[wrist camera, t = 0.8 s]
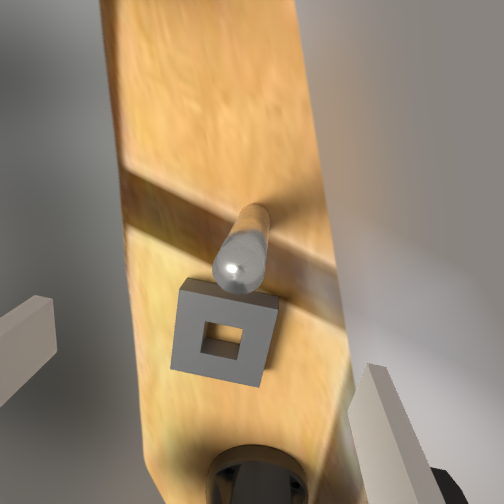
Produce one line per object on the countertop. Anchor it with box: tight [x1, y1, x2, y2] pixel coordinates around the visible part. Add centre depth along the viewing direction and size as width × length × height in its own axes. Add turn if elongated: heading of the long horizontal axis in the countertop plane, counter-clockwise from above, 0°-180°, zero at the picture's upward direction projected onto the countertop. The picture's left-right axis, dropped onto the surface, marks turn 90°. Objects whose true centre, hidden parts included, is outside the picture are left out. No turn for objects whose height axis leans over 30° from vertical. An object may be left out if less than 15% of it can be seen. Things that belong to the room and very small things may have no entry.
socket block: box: [170, 278, 279, 388], centre depth 36 cm, size 11×11×3 cm
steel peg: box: [212, 204, 270, 295], centre depth 26 cm, size 3×3×14 cm
